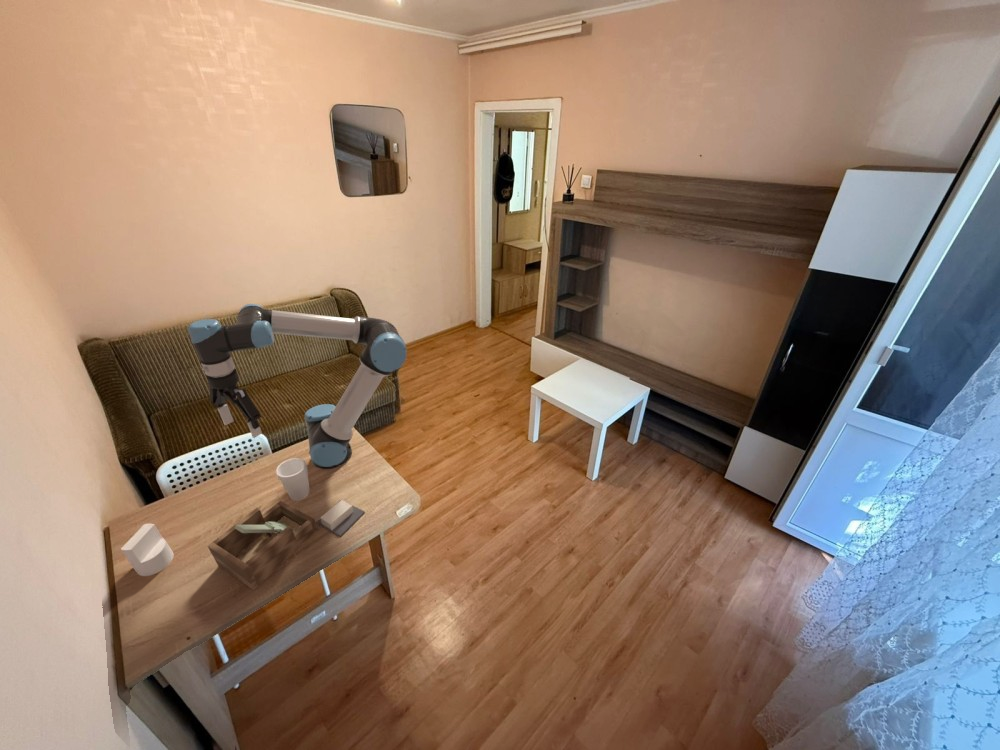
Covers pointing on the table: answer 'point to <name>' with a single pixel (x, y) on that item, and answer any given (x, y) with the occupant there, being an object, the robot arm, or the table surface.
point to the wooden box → (271, 553)
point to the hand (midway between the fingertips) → (243, 429)
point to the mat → (345, 522)
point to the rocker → (263, 528)
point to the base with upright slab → (148, 551)
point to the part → (336, 514)
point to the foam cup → (294, 478)
